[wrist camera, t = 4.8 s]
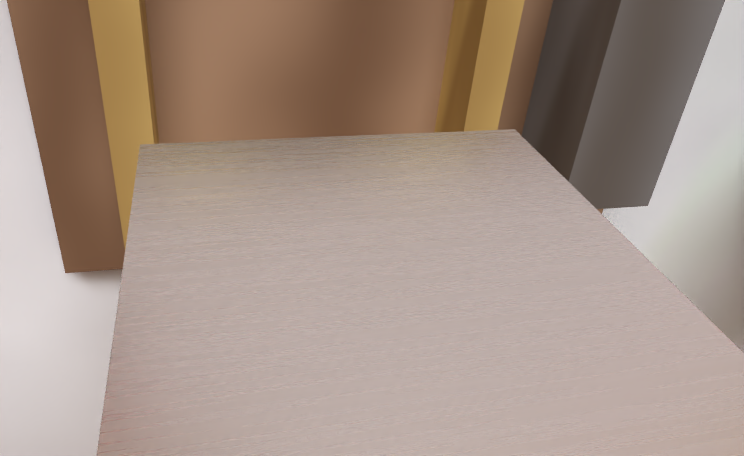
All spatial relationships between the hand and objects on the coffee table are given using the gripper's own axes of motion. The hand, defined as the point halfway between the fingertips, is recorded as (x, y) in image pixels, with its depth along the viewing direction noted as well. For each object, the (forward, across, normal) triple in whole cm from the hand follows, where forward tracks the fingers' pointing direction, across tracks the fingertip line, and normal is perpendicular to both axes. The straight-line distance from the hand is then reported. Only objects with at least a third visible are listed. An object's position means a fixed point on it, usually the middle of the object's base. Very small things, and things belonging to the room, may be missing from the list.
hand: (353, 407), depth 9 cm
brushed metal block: (+2, 0, 0) cm, 2 cm away
